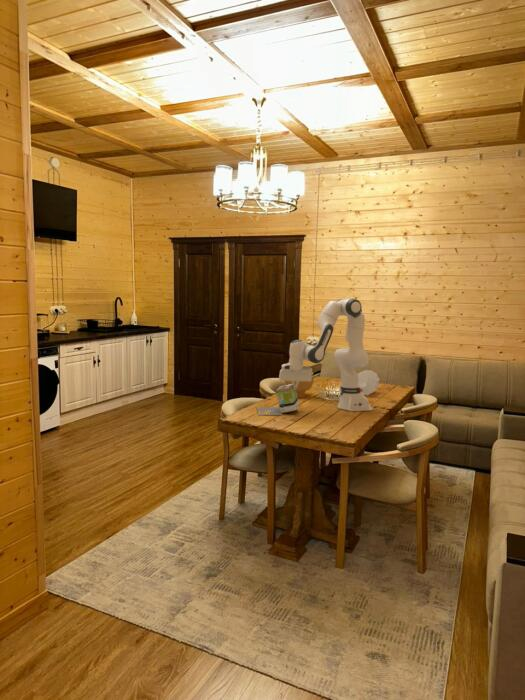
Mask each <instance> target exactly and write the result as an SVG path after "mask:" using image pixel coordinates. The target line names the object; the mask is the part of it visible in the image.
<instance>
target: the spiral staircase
mask: <svg viewBox="0 0 525 700" xmlns="http://www.w3.org/2000/svg"><path fill="white" fill-rule="evenodd" d="M357 374H358V376H359V379H358V387H359V388H362V389H363V392H360V393H361V394H363V395H364V396H369V395H370V394H373V393H375V391H376V390H377V389H378V388H379V387H380V380H381V379H380V378H379V376H378V373H376V372H374V371H373V370H372V369H371V370H367V369H365V370H362V371H359V372H358V373H357Z"/></svg>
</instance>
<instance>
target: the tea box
mask: <svg viewBox="0 0 525 700" xmlns="http://www.w3.org/2000/svg"><path fill="white" fill-rule="evenodd" d="M275 392H276V396H277V401H278V405H279V408H280V411H281V413H282V414H284V413H288V412H294V411H297V410H296V409H297V408H298V407H299V406H300V403H299V399H298V398H299V397H297V394H296V389H295V388H293V384H289V385H286V384H285V385H281V386H279V387H278V388H277V389H275Z"/></svg>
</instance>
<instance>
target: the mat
mask: <svg viewBox="0 0 525 700" xmlns="http://www.w3.org/2000/svg"><path fill="white" fill-rule="evenodd" d="M257 407H258V406H255V408H257ZM262 407H263V408H260V409H259V408H257V409H256V412H257V411H258V412H259V411H261V412H262V411H263V412H262V413H264V412H265V410H266V412H267V411H268V409H269V410H271V412H270V411H269V412H270V413H269V412H268V414H262V413H261V412H260V413H261V414H259V415H269V414H270V415H283V414H284V413H281V411H280V406H279V407H278V406H275V407H274V406H269V407H268V406H267V407H266V406H262ZM272 410H273V411H272ZM266 412H265V413H266ZM283 416H284V415H283Z"/></svg>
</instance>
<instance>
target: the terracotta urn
mask: <svg viewBox="0 0 525 700" xmlns="http://www.w3.org/2000/svg"><path fill="white" fill-rule="evenodd" d="M311 375H312V376H313V375H314V372H312V373H311ZM314 380H315V379H314V378H313V377H312V380H311V381H299V383H298V385H297V388H295V389H296V394H297V398H306V392H308V391H309V390H311V388H312V387H313V384H314ZM296 383H297V382H296V381H294V385H296ZM284 384H285V385H289V384H292V381H284Z"/></svg>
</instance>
